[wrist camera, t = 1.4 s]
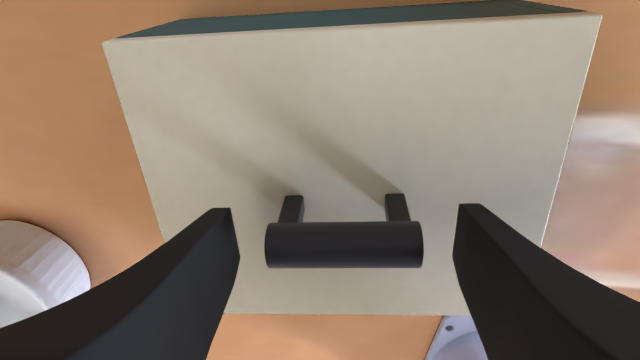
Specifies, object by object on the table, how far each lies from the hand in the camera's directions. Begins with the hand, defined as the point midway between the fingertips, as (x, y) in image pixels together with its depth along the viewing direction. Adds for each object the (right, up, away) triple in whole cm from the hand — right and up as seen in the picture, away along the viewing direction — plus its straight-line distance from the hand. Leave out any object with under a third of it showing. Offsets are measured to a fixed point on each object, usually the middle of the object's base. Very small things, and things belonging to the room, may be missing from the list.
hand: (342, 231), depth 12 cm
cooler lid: (0, +1, +2) cm, 3 cm away
